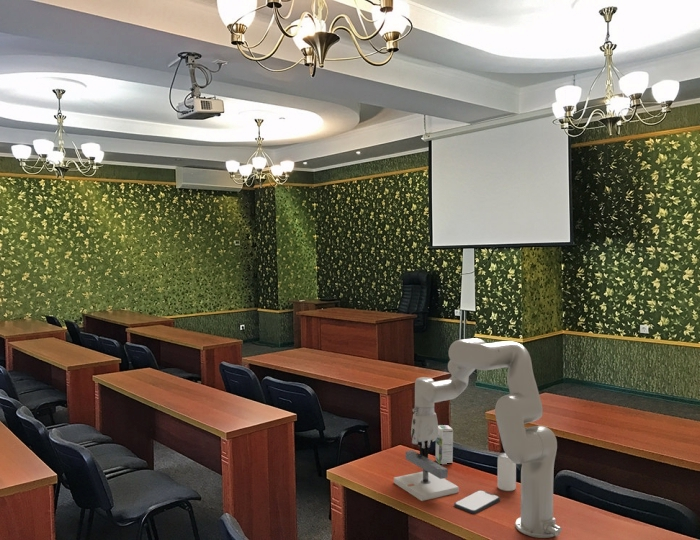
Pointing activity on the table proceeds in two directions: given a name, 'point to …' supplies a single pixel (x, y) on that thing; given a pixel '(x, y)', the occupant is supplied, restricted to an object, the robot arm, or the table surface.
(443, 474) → the t key
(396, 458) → the table surface
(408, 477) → the key plate
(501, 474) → the can
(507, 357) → the robot arm
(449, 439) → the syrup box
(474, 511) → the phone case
